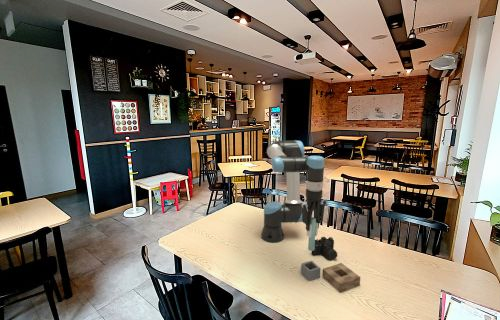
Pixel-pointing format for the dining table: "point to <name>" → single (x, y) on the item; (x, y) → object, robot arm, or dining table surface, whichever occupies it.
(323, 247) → the camera
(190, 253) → the dining table surface
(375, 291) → the dining table surface
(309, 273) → the pen cup
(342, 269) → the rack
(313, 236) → the dowel
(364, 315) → the dining table surface
